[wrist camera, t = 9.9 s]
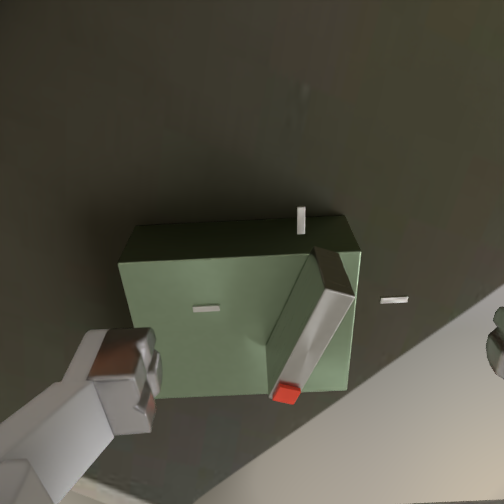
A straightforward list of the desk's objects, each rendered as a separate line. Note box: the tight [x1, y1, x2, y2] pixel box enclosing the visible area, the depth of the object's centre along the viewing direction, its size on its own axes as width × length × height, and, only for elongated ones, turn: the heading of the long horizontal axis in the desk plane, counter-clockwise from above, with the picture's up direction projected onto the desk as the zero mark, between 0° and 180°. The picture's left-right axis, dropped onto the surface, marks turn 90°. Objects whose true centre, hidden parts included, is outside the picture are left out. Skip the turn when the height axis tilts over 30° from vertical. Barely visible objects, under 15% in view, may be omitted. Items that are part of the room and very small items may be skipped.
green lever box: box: [118, 206, 408, 399], centre depth 24 cm, size 15×13×4 cm
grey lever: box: [266, 246, 355, 405], centre depth 20 cm, size 7×1×4 cm, turn 162°
